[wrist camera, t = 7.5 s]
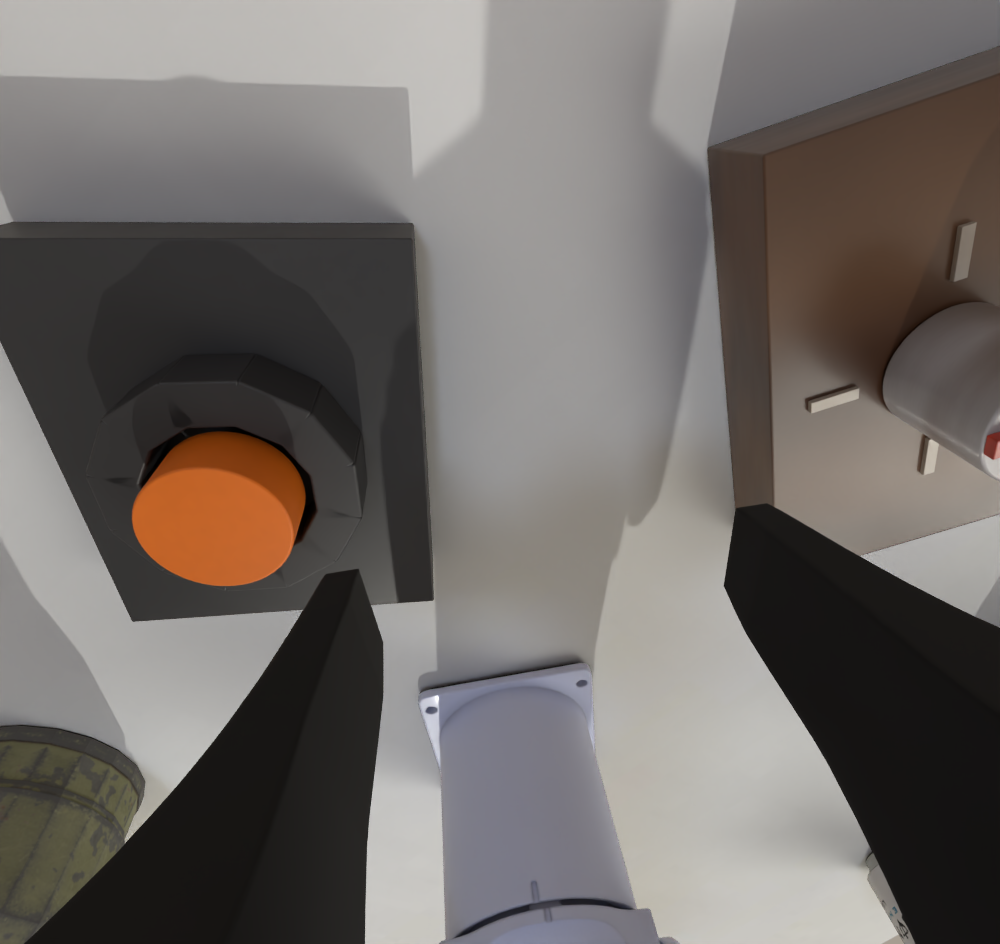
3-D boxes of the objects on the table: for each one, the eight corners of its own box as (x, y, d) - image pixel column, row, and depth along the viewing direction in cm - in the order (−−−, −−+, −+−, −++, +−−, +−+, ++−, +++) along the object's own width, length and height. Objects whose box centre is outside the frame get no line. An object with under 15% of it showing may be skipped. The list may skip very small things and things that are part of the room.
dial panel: (984, 454, 22) (1061, 500, 19) (736, 529, 23) (778, 584, 20) (1084, 16, 14) (1233, -7, 12) (706, 148, 15) (766, 154, 12)
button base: (432, 559, 22) (434, 641, 18) (157, 576, 21) (106, 666, 17) (413, 223, 15) (411, 254, 12) (11, 221, 14) (-117, 255, 11)
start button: (315, 539, 16) (305, 581, 15) (182, 546, 16) (158, 591, 14) (293, 427, 14) (278, 463, 13) (140, 433, 14) (107, 471, 12)
